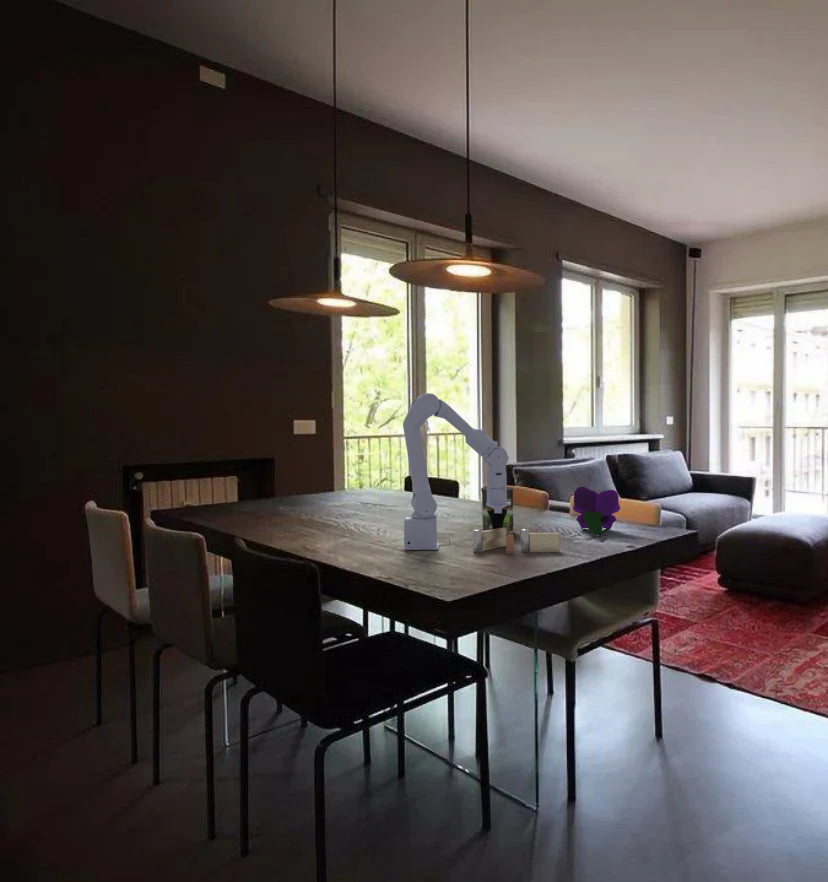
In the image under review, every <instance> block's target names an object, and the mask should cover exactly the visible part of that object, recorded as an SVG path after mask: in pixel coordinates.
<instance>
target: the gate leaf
mask: <svg viewBox="0 0 828 882" xmlns="http://www.w3.org/2000/svg"><path fill="white" fill-rule="evenodd" d="M481 533H482V551H484V550H491V549H495V548H500V547H506V534H511V533H510V528H508V527H503V528H498V529H492V530H485V531H482V530H481Z"/></svg>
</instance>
